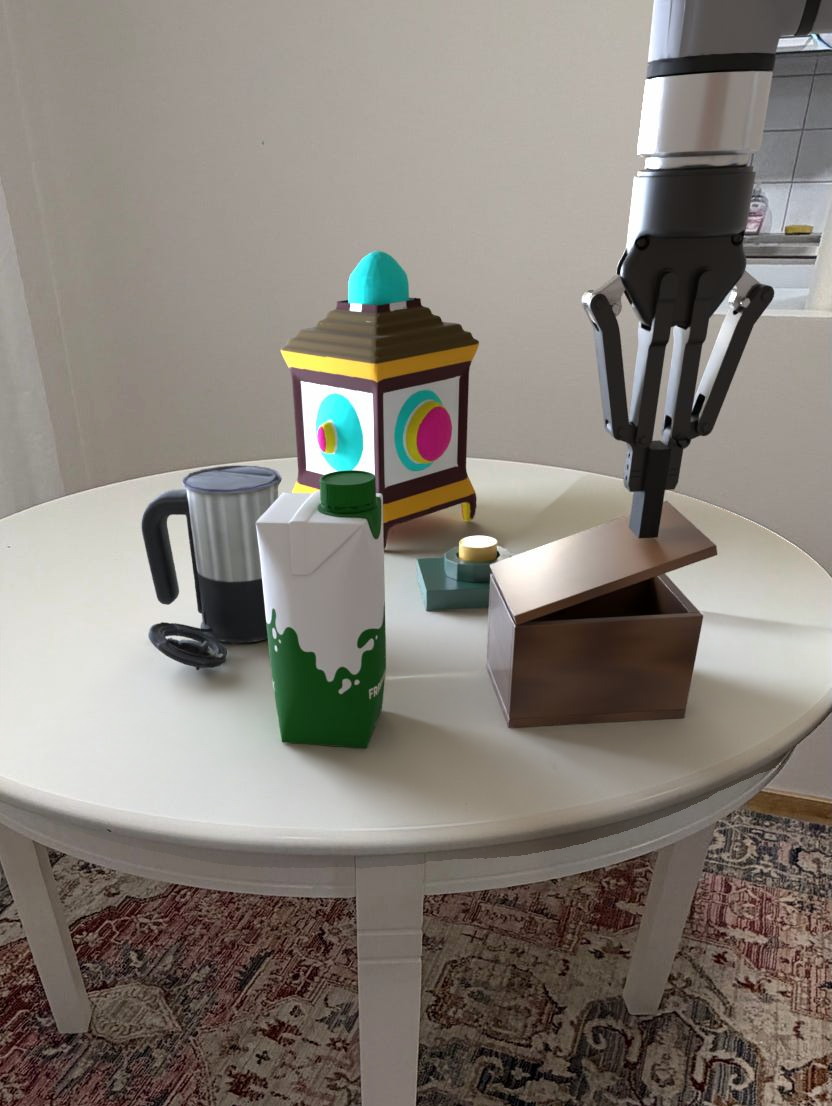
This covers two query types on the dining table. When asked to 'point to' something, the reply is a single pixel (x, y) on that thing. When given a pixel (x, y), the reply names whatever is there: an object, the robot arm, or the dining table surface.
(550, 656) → the chest
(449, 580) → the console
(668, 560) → the chest lid
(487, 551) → the button
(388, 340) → the decorative lantern
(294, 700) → the milk carton
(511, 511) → the dining table surface
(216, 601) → the milk frother
